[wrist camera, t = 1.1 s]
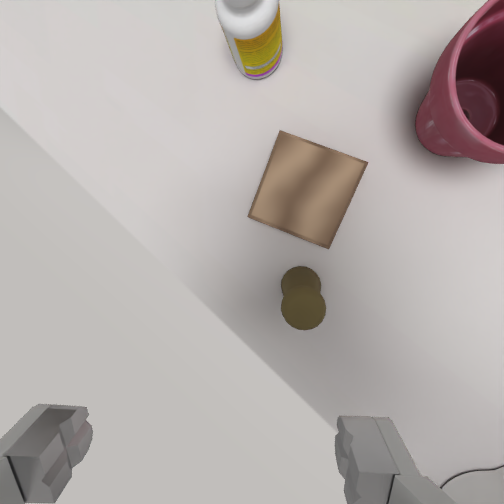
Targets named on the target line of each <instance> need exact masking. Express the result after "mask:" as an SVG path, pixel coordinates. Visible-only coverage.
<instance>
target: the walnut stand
mask: <svg viewBox="0 0 504 504" xmlns="http://www.w3.org/2000/svg"><path fill="white" fill-rule="evenodd" d="M367 164H368V162H366V161H363V160H360V159H358V158H355V157H352V156H349V155H347V154H344V153H341V152H338V151H336V150H333V149H330V148H327V147H325V146H322V145H319V144H316V143H314V142H311V141H308V140H305V139H302V138H300V137H297V136H294V135H291V134H289V133H286V132H283V131H279V134H278V137H277V139H276V142H275V145H274V147H273V150H272V153H271V155H270V158H269V161H268V163H267V166H266V169H265V171H264V174H263V177H262V179H261V182H260V185H259V187H258V190H257V193H256V195H255V198H254V201H253V203H252V206H251V209H250V211H249V214H248V217H249V218H251V219H254V220H256V221H259V222H262V223H264V224H267V225H269V226H272V227H274V228H277V229H279V230H282V231H284V232H287V233H289V234H292V235H294V236H297V237H299V238H302V239H304V240H307V241H309V242H312V243H314V244H317V245H319V246H322V247H324V248H327V249H329V248H330V246H331V243H332V241H333V239H334V237H335V235H336V232H337V230H338V228H339V226H340V224H341V221H342V219H343V217H344V215H345V213H346V210H347V208H348V206H349V204H350V202H351V199H352V197H353V195H354V193H355V191H356V188H357V186H358V184H359V182H360V180H361V177H362V175H363V173H364V171H365V169H366V167H367Z"/></svg>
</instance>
